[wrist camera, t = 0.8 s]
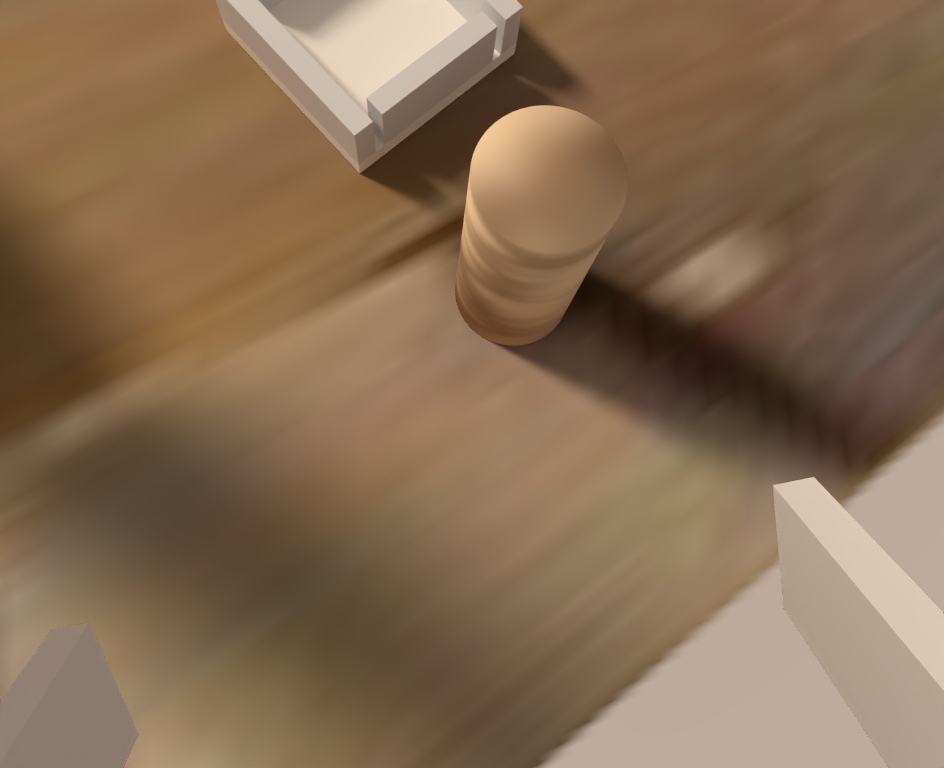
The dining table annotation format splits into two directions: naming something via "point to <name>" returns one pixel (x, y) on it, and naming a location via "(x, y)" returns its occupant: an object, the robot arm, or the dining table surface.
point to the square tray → (373, 60)
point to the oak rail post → (535, 220)
